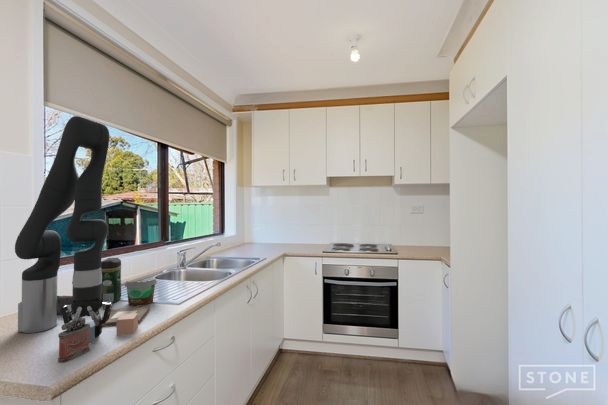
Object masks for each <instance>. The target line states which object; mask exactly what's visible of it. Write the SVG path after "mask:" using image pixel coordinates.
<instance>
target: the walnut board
mask: <svg viewBox="0 0 608 405" xmlns="http://www.w3.org/2000/svg"><path fill="white" fill-rule="evenodd" d="M150 308H151V307H150V306H147V307H146V306H145V307H132V308H131V307H130V308H117V309H116V308H115V309H111V313H110V317H109V320H108V321H107V322H106V323H103V324H102V327H111V326H117V319H118V318H119V317H120V316H121V315H122V314H136V313H138V325H139V324H140V323H141V322H142V321H143V320H144V318H145V317H146V316H147V314H148V313H149V312H150V310H151V309H150ZM101 318H103V316H101ZM142 319H143V320H142Z"/></svg>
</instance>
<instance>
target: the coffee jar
mask: <svg viewBox="0 0 608 405" xmlns="http://www.w3.org/2000/svg"><path fill="white" fill-rule="evenodd" d="M101 271H102V300H103V302H105V303H110V302H112V303H116V302H118V301H119V300H120V299H121V297H122V261H121V258H119V257H107V258H106V259H104V260H101Z"/></svg>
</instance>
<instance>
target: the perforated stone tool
mask: <svg viewBox="0 0 608 405" xmlns="http://www.w3.org/2000/svg"><path fill="white" fill-rule="evenodd" d="M72 297H73V295H57V315H62V314H61V310H60V309H61V308H62V307H64V306H65V305H71V304H72V302H73V299H72ZM70 312H71V314H74V313H75V311H74V310H73V309H71V311H70ZM75 314H76V313H75Z"/></svg>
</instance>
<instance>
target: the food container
mask: <svg viewBox="0 0 608 405" xmlns="http://www.w3.org/2000/svg"><path fill="white" fill-rule="evenodd" d="M157 283H158V282H157V280H156V278H154V279H151V280H137V281H128V280H127V279H126V280H125V284H124V287H125V288H126V292H127V293H126V294H127V302H128V305H129V306H130V307H143V306H147V305H150V304H152V303H153V302H154V296H155V289H156V287H155V286H156V285H157Z"/></svg>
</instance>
